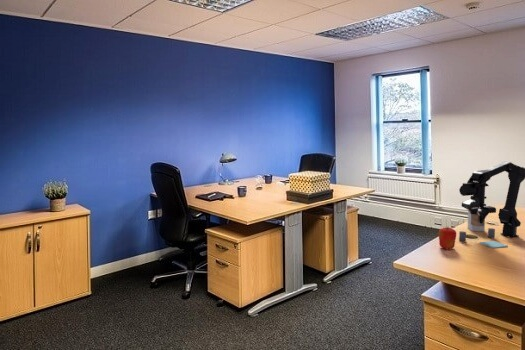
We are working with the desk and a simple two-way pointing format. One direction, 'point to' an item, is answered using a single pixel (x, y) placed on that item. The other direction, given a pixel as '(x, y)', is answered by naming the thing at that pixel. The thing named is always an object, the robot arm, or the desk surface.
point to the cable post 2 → (491, 233)
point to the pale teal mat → (493, 244)
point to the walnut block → (476, 220)
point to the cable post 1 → (462, 236)
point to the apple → (447, 238)
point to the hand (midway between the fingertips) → (477, 222)
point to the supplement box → (472, 227)
